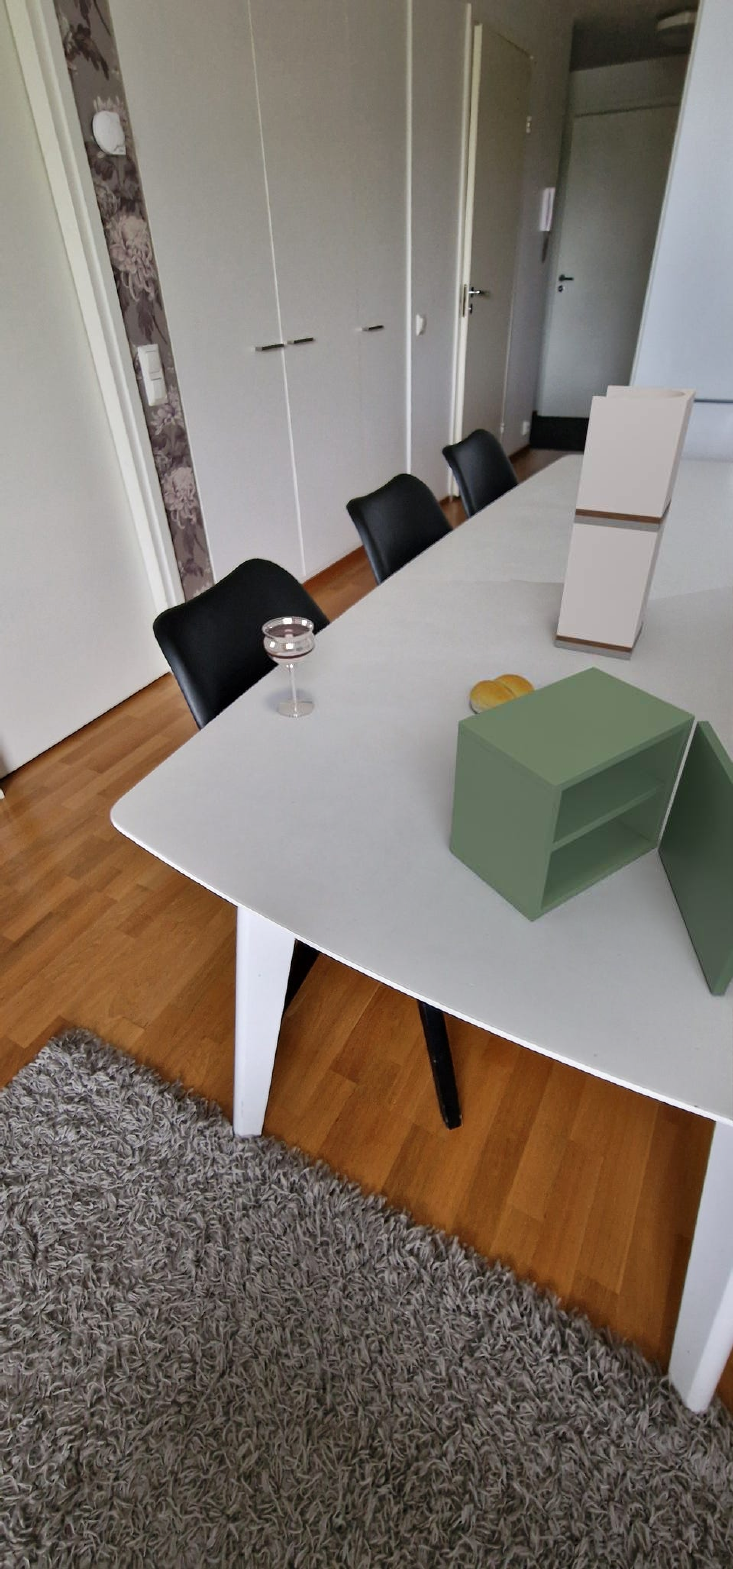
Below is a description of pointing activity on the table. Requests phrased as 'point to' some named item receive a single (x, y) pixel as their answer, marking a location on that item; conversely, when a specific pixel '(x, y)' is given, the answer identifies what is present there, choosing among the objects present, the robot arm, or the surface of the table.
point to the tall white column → (621, 515)
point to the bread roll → (498, 691)
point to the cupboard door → (704, 853)
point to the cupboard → (564, 786)
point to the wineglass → (290, 654)
